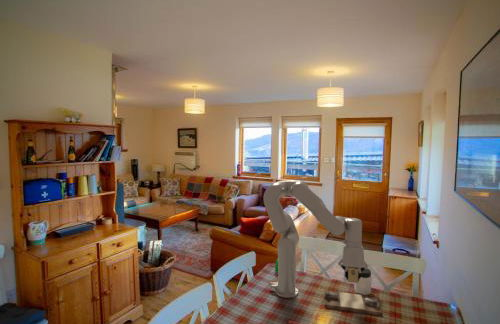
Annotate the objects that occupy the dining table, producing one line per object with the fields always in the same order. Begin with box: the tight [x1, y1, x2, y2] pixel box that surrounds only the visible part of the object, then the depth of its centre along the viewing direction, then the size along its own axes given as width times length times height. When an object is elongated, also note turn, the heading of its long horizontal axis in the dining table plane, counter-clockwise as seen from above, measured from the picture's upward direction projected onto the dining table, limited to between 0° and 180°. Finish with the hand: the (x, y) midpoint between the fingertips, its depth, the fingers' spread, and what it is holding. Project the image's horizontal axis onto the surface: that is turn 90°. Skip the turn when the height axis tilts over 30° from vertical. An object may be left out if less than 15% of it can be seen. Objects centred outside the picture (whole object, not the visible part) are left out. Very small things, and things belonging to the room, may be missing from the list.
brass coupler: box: [347, 267, 358, 284], centre depth 144 cm, size 5×6×7 cm
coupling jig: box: [324, 290, 383, 316], centre depth 145 cm, size 26×14×4 cm, turn 76°
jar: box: [353, 268, 372, 296], centre depth 158 cm, size 9×8×12 cm
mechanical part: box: [274, 258, 278, 273], centre depth 183 cm, size 12×6×8 cm, turn 139°
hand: (352, 278), depth 144 cm, fingers closed on brass coupler, 4 cm apart
